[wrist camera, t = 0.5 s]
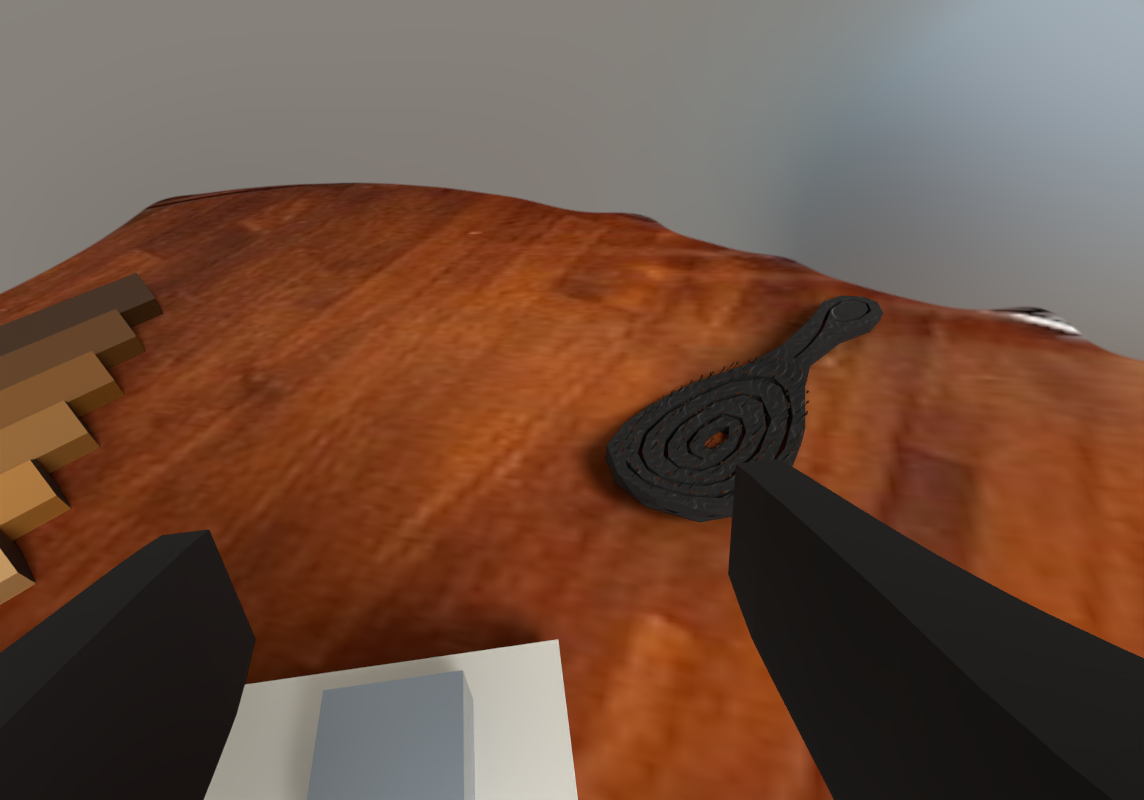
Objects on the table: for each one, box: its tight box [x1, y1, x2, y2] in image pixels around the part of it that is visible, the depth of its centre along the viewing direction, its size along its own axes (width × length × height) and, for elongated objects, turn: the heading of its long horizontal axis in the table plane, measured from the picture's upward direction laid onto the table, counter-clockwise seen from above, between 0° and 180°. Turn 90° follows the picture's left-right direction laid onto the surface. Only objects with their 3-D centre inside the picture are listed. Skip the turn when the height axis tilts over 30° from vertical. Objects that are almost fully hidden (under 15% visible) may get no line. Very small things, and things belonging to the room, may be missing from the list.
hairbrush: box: [606, 296, 883, 522], centre depth 36 cm, size 8×4×25 cm
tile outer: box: [307, 670, 475, 800], centre depth 20 cm, size 4×4×2 cm
